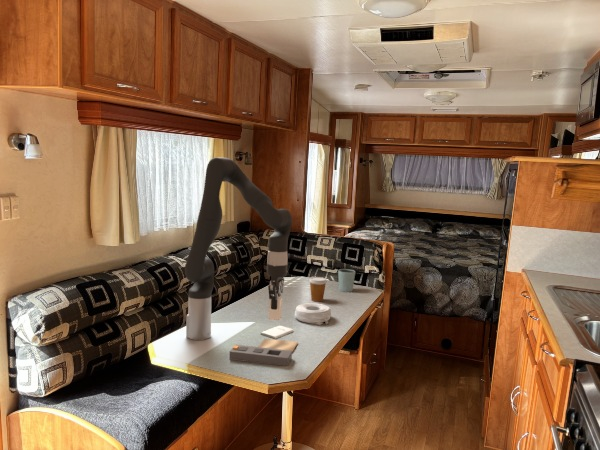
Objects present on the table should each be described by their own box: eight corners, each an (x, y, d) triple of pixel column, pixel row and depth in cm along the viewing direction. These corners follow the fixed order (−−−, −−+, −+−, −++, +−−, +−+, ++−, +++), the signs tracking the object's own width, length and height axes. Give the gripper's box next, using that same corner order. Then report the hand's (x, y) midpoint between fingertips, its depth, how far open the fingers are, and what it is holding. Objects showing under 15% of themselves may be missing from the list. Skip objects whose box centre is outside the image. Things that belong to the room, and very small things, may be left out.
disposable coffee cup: (326, 303, 248) (327, 281, 247) (308, 302, 248) (309, 280, 247) (325, 298, 258) (326, 277, 256) (308, 297, 258) (309, 276, 256)
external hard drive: (260, 335, 197) (279, 328, 207) (274, 340, 193) (293, 332, 202) (260, 332, 197) (279, 324, 207) (274, 336, 192) (293, 329, 202)
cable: (327, 326, 211) (328, 313, 210) (290, 322, 214) (291, 310, 214) (332, 315, 228) (333, 303, 227) (298, 312, 231) (298, 300, 231)
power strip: (229, 359, 170) (229, 349, 170) (235, 352, 177) (236, 343, 177) (287, 366, 166) (287, 356, 166) (291, 358, 173) (291, 349, 172)
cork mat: (257, 348, 181) (257, 347, 181) (264, 339, 191) (264, 338, 191) (292, 352, 178) (292, 351, 178) (297, 343, 188) (297, 342, 188)
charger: (268, 319, 172) (269, 293, 171) (271, 316, 176) (272, 290, 175) (279, 320, 172) (280, 294, 170) (281, 317, 175) (282, 291, 174)
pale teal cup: (335, 288, 280) (335, 269, 279) (350, 287, 283) (351, 268, 282) (341, 292, 270) (342, 272, 269) (357, 292, 273) (358, 272, 272)
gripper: (272, 258, 179) (271, 301, 181) (261, 265, 165) (260, 311, 167) (291, 260, 177) (289, 303, 179) (282, 267, 163) (280, 314, 166)
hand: (275, 307), depth 173 cm, fingers closed on charger, 3 cm apart
